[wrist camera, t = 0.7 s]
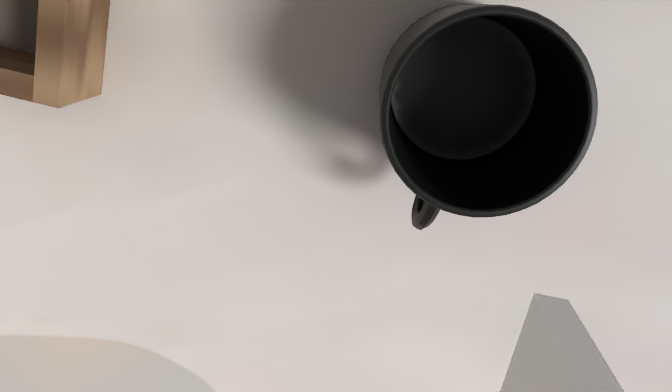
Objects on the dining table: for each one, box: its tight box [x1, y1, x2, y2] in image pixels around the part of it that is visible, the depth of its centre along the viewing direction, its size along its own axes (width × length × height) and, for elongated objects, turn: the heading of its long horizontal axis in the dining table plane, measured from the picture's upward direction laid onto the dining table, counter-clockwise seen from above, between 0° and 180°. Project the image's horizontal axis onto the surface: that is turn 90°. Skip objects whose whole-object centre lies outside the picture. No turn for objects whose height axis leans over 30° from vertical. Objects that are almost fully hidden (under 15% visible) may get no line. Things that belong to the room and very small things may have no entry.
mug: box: [380, 4, 598, 230], centre depth 30 cm, size 9×12×9 cm
